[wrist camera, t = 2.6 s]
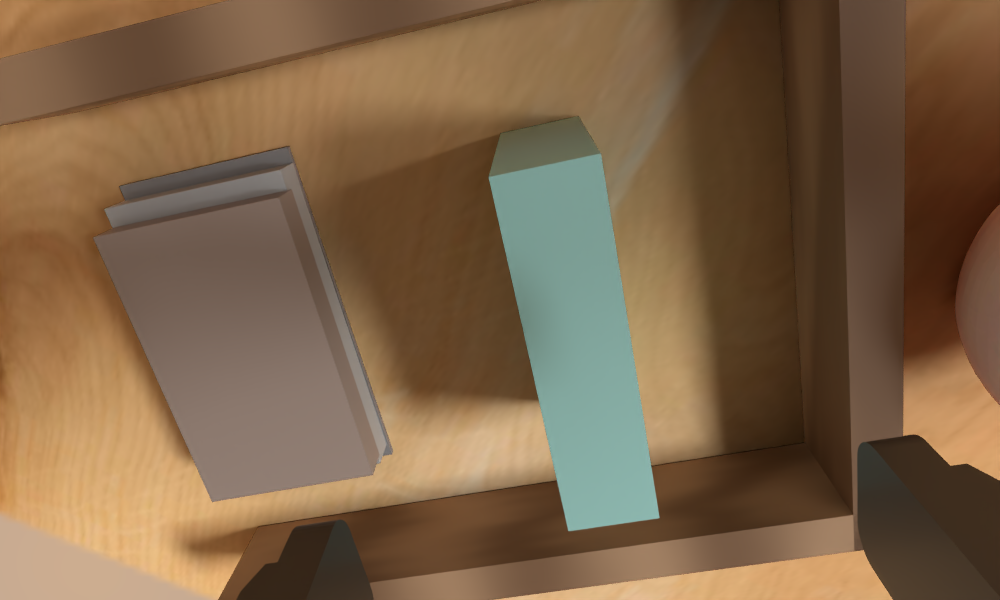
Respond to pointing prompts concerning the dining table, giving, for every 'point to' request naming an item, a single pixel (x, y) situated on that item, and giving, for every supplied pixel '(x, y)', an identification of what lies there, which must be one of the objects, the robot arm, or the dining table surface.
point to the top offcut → (243, 345)
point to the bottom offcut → (234, 169)
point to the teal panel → (574, 320)
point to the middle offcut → (240, 190)
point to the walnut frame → (678, 486)
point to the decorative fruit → (982, 304)
